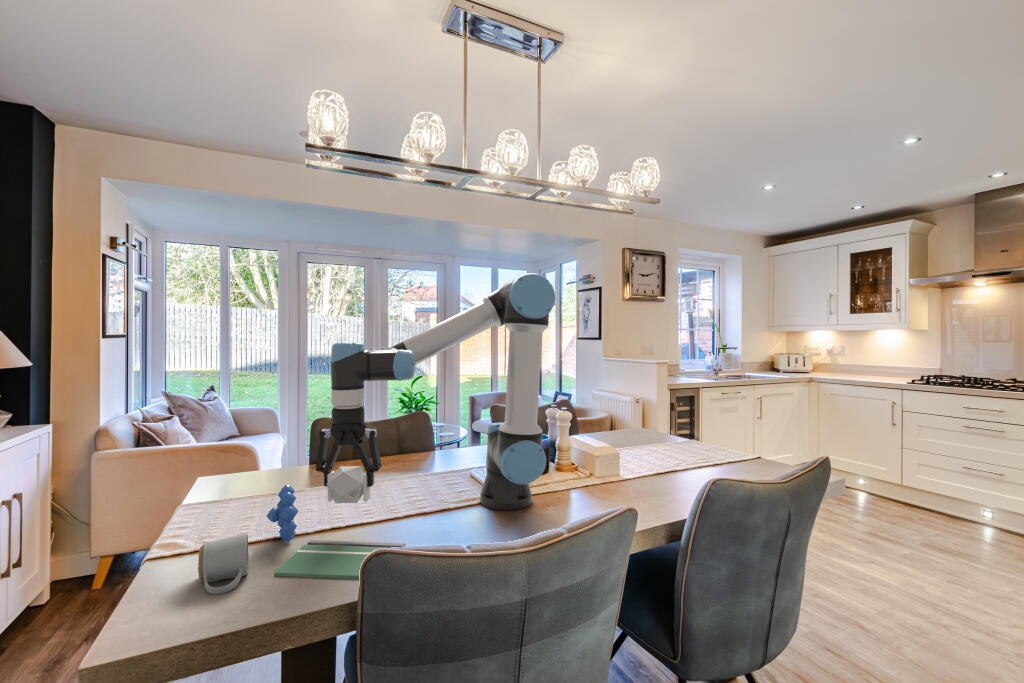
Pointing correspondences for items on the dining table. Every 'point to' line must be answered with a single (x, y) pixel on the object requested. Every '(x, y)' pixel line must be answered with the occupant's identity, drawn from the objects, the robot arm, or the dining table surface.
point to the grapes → (285, 513)
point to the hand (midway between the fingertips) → (349, 499)
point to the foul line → (356, 543)
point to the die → (346, 484)
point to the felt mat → (325, 562)
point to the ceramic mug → (223, 562)
